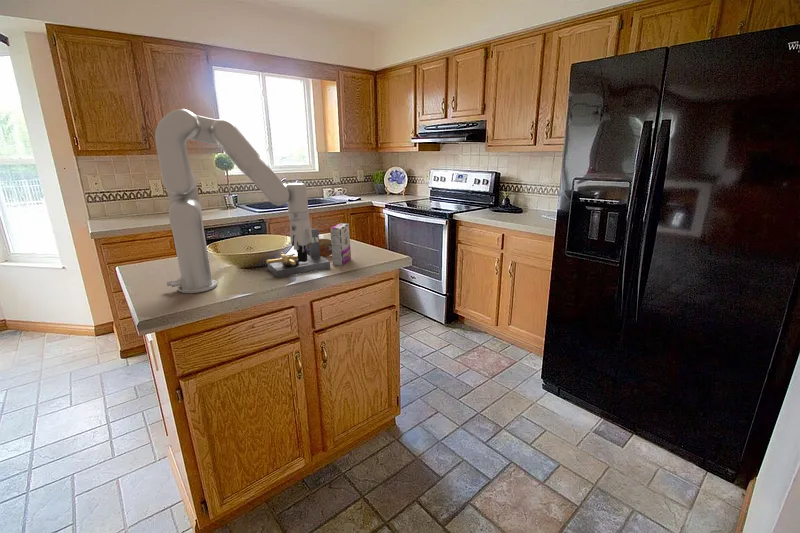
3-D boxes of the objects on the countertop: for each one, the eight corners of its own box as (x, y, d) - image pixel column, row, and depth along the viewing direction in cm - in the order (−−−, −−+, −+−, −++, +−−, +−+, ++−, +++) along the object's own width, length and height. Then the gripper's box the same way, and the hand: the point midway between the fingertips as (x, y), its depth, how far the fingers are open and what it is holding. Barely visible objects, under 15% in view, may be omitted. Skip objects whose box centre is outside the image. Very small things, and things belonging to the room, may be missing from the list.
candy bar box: (340, 258, 172) (339, 223, 167) (351, 259, 171) (349, 223, 166) (331, 265, 162) (329, 227, 157) (342, 266, 161) (340, 228, 156)
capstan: (272, 273, 141) (271, 263, 140) (261, 262, 154) (260, 253, 153) (315, 265, 150) (314, 256, 149) (301, 256, 163) (300, 247, 162)
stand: (277, 277, 146) (273, 240, 142) (267, 269, 157) (263, 233, 153) (330, 268, 157) (328, 233, 153) (317, 260, 169) (315, 227, 164)
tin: (303, 255, 177) (302, 238, 175) (306, 254, 180) (305, 237, 178) (333, 257, 174) (332, 239, 172) (336, 255, 177) (335, 238, 175)
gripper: (299, 219, 137) (303, 267, 143) (315, 212, 151) (319, 256, 157) (280, 218, 139) (285, 266, 144) (298, 212, 153) (302, 256, 158)
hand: (302, 261), depth 150 cm, fingers closed
